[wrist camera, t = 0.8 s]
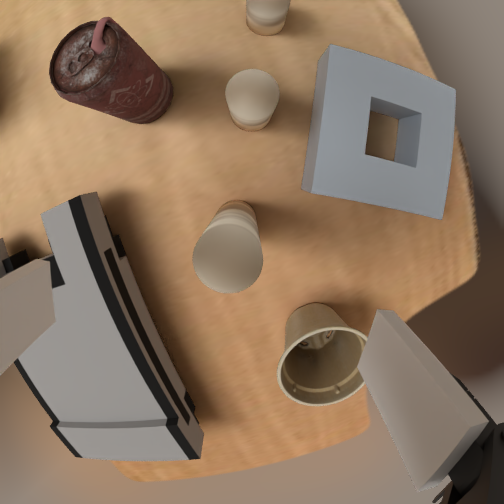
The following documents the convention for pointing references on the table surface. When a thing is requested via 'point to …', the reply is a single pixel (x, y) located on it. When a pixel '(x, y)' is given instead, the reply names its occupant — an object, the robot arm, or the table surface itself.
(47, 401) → the game console
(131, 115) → the can
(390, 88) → the hole block
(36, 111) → the table surface
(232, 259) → the dowel long
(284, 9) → the dowel short
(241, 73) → the dowel medium
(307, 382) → the flower pot
